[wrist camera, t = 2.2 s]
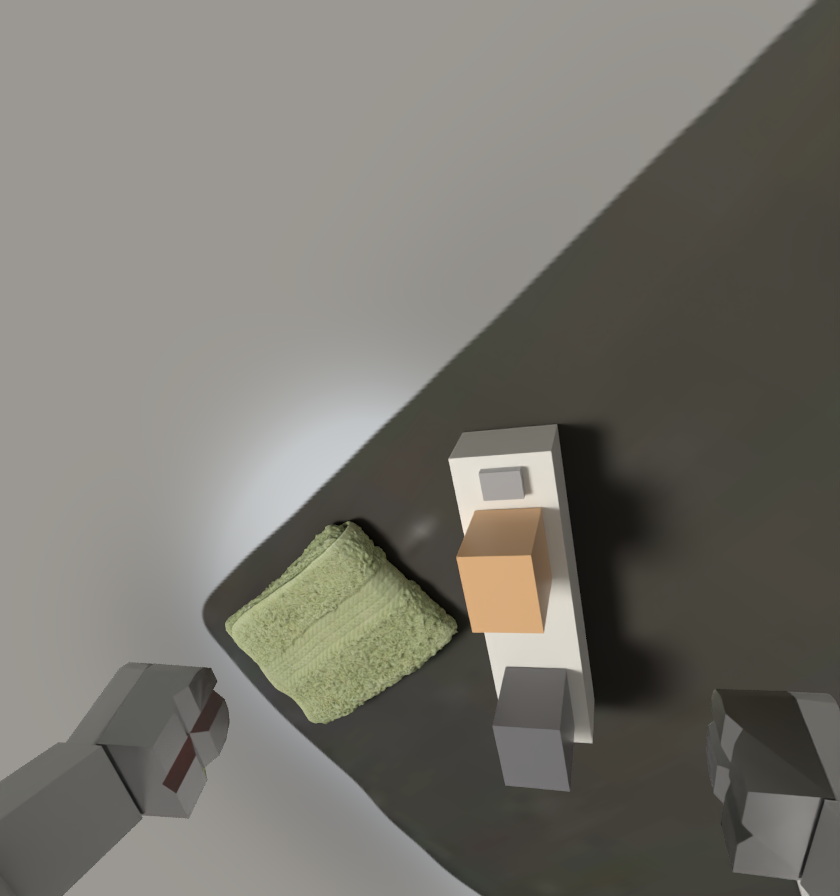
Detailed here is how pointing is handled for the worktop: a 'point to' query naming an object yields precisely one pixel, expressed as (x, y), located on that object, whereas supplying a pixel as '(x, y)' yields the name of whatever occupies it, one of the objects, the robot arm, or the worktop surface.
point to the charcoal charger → (535, 728)
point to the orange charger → (506, 571)
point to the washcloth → (340, 625)
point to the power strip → (543, 486)
